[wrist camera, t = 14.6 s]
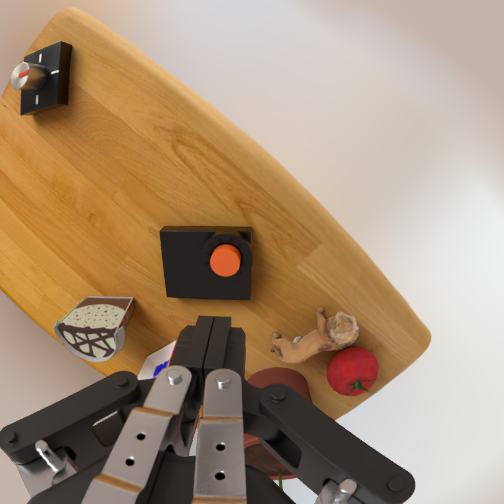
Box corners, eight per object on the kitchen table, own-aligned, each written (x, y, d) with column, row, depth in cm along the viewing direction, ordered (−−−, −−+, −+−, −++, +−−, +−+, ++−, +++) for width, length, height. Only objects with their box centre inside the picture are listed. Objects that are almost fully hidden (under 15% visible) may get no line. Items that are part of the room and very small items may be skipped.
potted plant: (337, 394, 52) (362, 506, 29) (250, 434, 57) (246, 533, 34) (286, 343, 47) (300, 482, 24) (192, 393, 52) (167, 507, 29)
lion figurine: (335, 285, 43) (350, 319, 35) (354, 307, 44) (371, 342, 36) (260, 340, 47) (261, 379, 38) (282, 357, 48) (285, 397, 40)
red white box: (176, 383, 52) (167, 414, 44) (146, 356, 49) (133, 387, 42) (207, 368, 50) (200, 401, 42) (177, 339, 47) (165, 371, 40)
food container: (90, 325, 47) (64, 359, 38) (80, 295, 45) (50, 327, 36) (150, 329, 47) (130, 369, 38) (141, 297, 45) (117, 334, 35)
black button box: (164, 224, 40) (154, 233, 36) (253, 224, 40) (252, 234, 36) (170, 290, 44) (163, 303, 40) (252, 292, 44) (251, 307, 40)
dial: (28, 94, 30) (8, 93, 25) (30, 70, 28) (10, 67, 24) (47, 87, 30) (26, 85, 25) (49, 62, 28) (29, 58, 24)
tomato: (377, 337, 46) (392, 367, 39) (364, 373, 50) (376, 404, 42) (328, 338, 47) (338, 371, 39) (319, 376, 50) (326, 409, 42)
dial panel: (35, 59, 30) (23, 56, 27) (72, 44, 30) (61, 40, 27) (31, 115, 34) (19, 115, 31) (68, 104, 34) (56, 103, 31)
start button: (211, 243, 37) (209, 248, 36) (240, 244, 37) (239, 249, 35) (212, 270, 39) (210, 276, 37) (240, 270, 38) (240, 277, 37)
